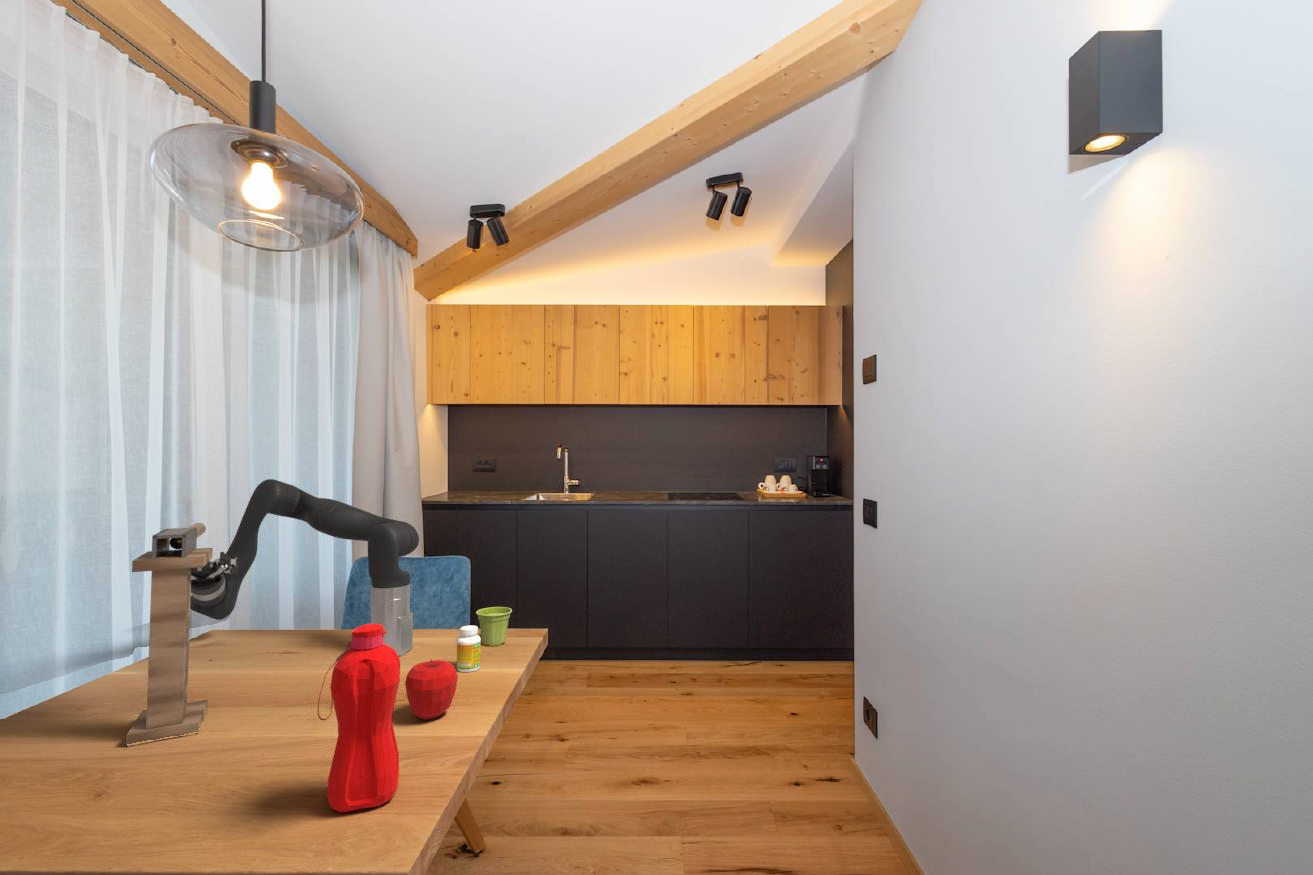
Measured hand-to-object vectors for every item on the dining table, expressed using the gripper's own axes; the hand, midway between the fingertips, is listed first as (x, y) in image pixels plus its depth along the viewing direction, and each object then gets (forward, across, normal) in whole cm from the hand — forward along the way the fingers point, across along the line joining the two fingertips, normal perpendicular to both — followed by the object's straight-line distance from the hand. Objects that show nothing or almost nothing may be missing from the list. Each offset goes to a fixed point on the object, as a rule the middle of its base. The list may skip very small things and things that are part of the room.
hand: (199, 556), depth 138 cm
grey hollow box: (+29, 0, +11) cm, 31 cm away
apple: (+30, +43, +48) cm, 71 cm away
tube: (+16, 0, +3) cm, 16 cm away
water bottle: (+51, +28, +60) cm, 84 cm away
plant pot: (-5, +66, +29) cm, 72 cm away
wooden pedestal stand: (+13, 0, +39) cm, 41 cm away
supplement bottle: (+10, +55, +37) cm, 67 cm away
